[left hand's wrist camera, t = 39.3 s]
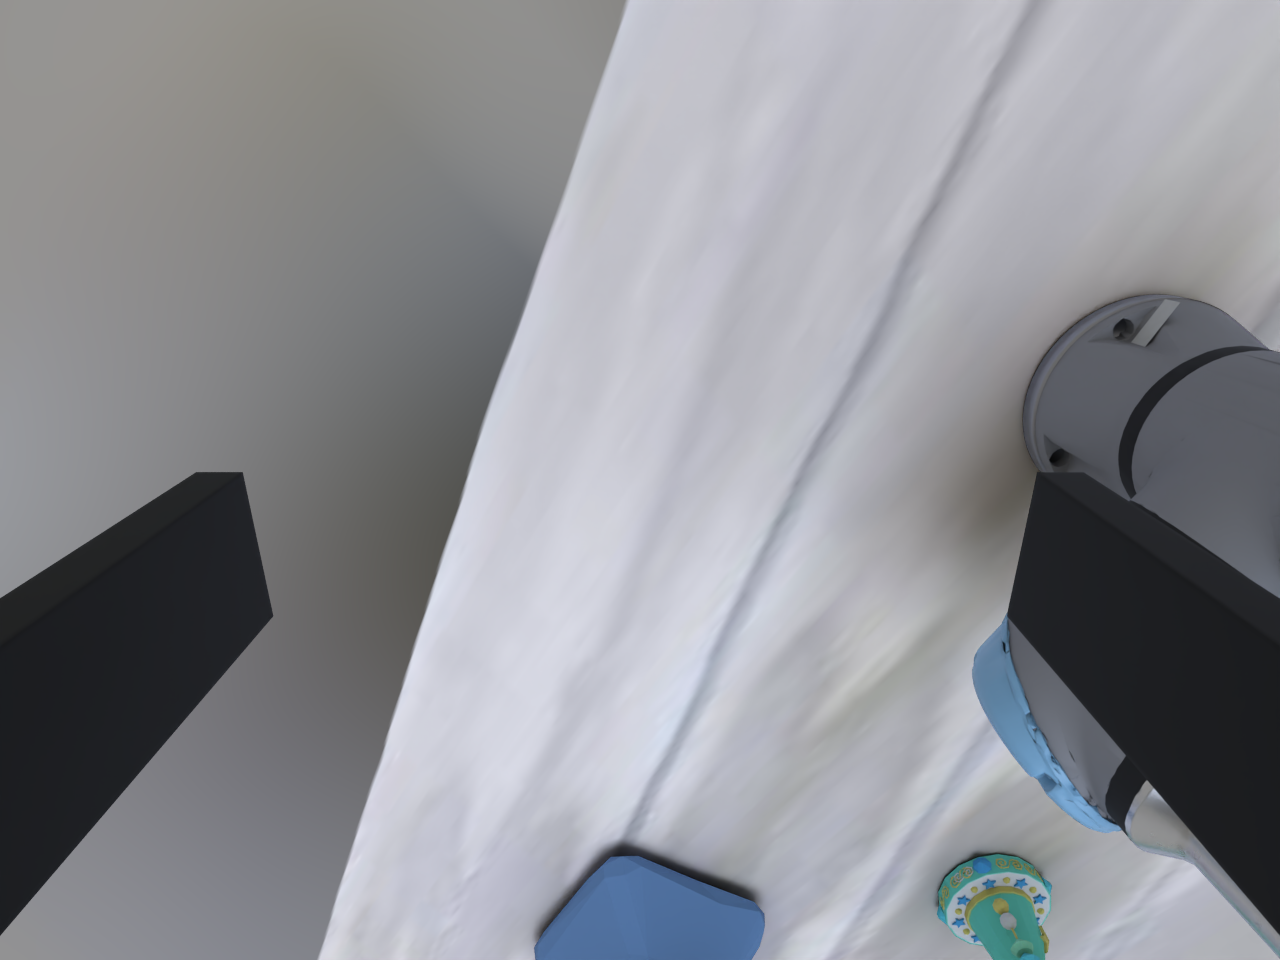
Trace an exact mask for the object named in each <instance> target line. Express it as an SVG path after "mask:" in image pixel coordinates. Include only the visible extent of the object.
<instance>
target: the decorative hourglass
mask: <svg viewBox="0 0 1280 960" xmlns="http://www.w3.org/2000/svg"><path fill="white" fill-rule="evenodd" d="M1051 887H1052V885H1051V884H1050V883H1049V882H1048V881H1047V880H1045V879H1044V878H1043V877H1040V875H1039V874H1038V872H1037V871H1036V870H1035V868H1034V867H1033V865H1031V864H1029V863H1027V862H1026V861H1024V860H1022V859H1020V858H1018V857H1014V856H1007V855H1000V854H996V855H989V856H983V857H977V858H975V859H973V860H970V861H968V862H966V863H964V864H961V865H959V866H958V867H957V868H956V869H955V870H953V871H952V872H951V873H950V874H949V875H948V876H947V877H946V878H945V879H944V881H943V883H942V885H941V888H940V890H939V892H938V896H939V907H938V911H937V915H938V918H939V919H940V920H942V921H943V922H944V923H945V924H947V925H948V927H949V928H950V929H951V931H952V932H953V934H954V935H955V936H956V937H958V938H960V939H962V940H964V941H966V942H968V943H969V944H975V945H981V946H984V947H985V948H986V950H987V951H988V953H989V954H990V956H991V957H992V959H993V960H1045V953H1047V952H1048V946H1049V939H1048V937H1047V936H1046V934H1045V932H1044V930H1043V928H1042V926H1041V925H1043V923H1044V921H1045V919H1046V918H1047V916H1048V914H1049V912H1050V911H1051V895H1050V893H1051ZM1039 928H1040V929H1039ZM1040 930H1041V932H1040ZM1041 933H1042V935H1041Z"/></svg>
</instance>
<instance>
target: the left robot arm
mask: <svg viewBox="0 0 1280 960" xmlns="http://www.w3.org/2000/svg"><path fill="white" fill-rule="evenodd" d="M1023 430H1024V438H1025V442H1026V446H1027V449H1028V451H1029V454H1030V456H1031V458H1032V460H1033V462H1034V463H1035V465H1036V466H1037V468H1038V469H1039V470H1040V471H1041V472H1037V476H1036V481H1035V486H1034V491H1033V495H1032V500H1031V505H1030V509H1029V514H1028V519H1027V523H1026V528H1025V533H1024V538H1023V542H1022V547H1021V552H1020V556H1019V561H1018V566H1017V570H1016V575H1015V580H1014V585H1013V589H1012V594H1011V599H1010V603H1009V608H1008V612H1007V614H1006V616H1005V618H1004V620H1003V622H1002V624H1001V625H1000V626H999V627H998V628H997V629H996V631H995V632H994V633H993V634H992V635H991V636H990V637H989V638H988V639H987V640H986V641H985V642H984V643H983V644H982V645H981V647H980V648H979V649H978V651H977V652H976V654H975V657H974V666H973V669H972V678H973V683H974V687H975V691H976V694H977V696H978V699H979V701H980V704H981V706H982V708H983V710H984V712H985V714H986V716H987V717H988V719H989V721H990V723H991V724H992V726H993V728H994V729H995V731H996V732H997V734H998V735H999V737H1000V738H1001V740H1002V741H1003V743H1004V744H1005V746H1006V747H1007V748H1008V750H1009V751H1010V753H1011V754H1012V755H1013V757H1014V758H1015V759H1016V760H1017V762H1018V763H1019V764H1020V765H1021V767H1022V768H1023V769H1024V770H1025V771H1026V772H1027V773H1028V774H1029V775H1030V776H1031V777H1034V778H1036V779H1037V780H1038V781H1039V783H1040V784H1041V786H1042V788H1043V789H1044V791H1045V792H1046V794H1047V795H1048V796H1049V797H1050V798H1051V799H1052V800H1053V801H1054V802H1055V803H1056V804H1057V805H1058V806H1059V807H1060V808H1061V809H1062V810H1064V811H1065V812H1066V813H1067V814H1068V815H1070V816H1071V817H1072V818H1074V819H1075V820H1076V821H1078V822H1079V823H1081V824H1082V825H1084V826H1086V827H1088V828H1090V829H1092V830H1096V831H1099V832H1103V833H1109V832H1112V831H1120V830H1123V831H1124V833H1125V834H1126V835H1127V836H1128V837H1129V839H1130V840H1131V841H1132V842H1133V843H1134V844H1135V845H1136V846H1137V847H1138V848H1139V849H1141V850H1143V851H1145V852H1149V853H1153V854H1158V855H1162V856H1167V857H1172V858H1177V859H1181V860H1185V861H1187V862H1189V863H1192V864H1194V865H1195V866H1196V867H1197V868H1198V869H1199V871H1200V872H1201V873H1202V874H1203V875H1204V876H1205V877H1206V878H1207V879H1208V880H1209V881H1210V883H1211V884H1212V885H1213V886H1214V887H1215V888H1216V889H1217V890H1218V891H1219V892H1220V894H1221V895H1222V896H1223V897H1224V898H1225V899H1226V900H1227V901H1228V902H1229V903H1230V904H1231V906H1232V907H1233V908H1234V909H1235V910H1236V911H1237V912H1238V913H1239V914H1240V915H1241V917H1242V918H1243V919H1244V920H1245V921H1246V922H1247V923H1248V924H1249V925H1250V926H1251V927H1252V929H1253V930H1254V931H1255V932H1256V933H1257V934H1258V935H1259V936H1260V937H1261V938H1262V940H1263V941H1264V942H1265V943H1266V944H1267V945H1268V946H1269V947H1270V948H1271V949H1272V951H1273V952H1274V953H1275V954H1276V955H1277V956H1278V957H1279V958H1280V352H1276V351H1272V350H1269V349H1268V348H1267V347H1266V346H1265V345H1263V344H1262V343H1261V342H1260V341H1259V340H1258V339H1257V338H1255V337H1254V336H1253V335H1252V334H1251V333H1250V332H1249V331H1247V330H1246V329H1245V328H1244V327H1243V326H1242V325H1241V324H1239V323H1238V322H1237V321H1236V320H1235V319H1233V318H1232V317H1231V316H1229V315H1228V314H1227V313H1225V312H1223V311H1222V310H1220V309H1218V308H1216V307H1214V306H1212V305H1210V304H1207V303H1204V302H1201V301H1197V300H1192V299H1187V298H1183V297H1178V296H1172V295H1143V296H1137V297H1132V298H1128V299H1124V300H1121V301H1118V302H1115V303H1112V304H1110V305H1107V306H1105V307H1103V308H1101V309H1099V310H1097V311H1095V312H1093V313H1092V314H1090V315H1088V316H1087V317H1085V318H1084V319H1082V320H1081V321H1079V322H1078V323H1077V324H1075V325H1074V326H1073V327H1072V328H1071V329H1069V330H1068V331H1067V332H1066V333H1065V334H1064V335H1063V336H1062V337H1061V338H1060V339H1059V340H1058V341H1057V342H1056V343H1055V344H1054V345H1053V347H1052V348H1051V349H1050V350H1049V352H1048V353H1047V354H1046V356H1045V357H1044V359H1043V360H1042V362H1041V363H1040V365H1039V367H1038V368H1037V370H1036V372H1035V374H1034V376H1033V378H1032V381H1031V383H1030V386H1029V389H1028V392H1027V395H1026V400H1025V404H1024V412H1023ZM272 617H273V613H272V608H271V603H270V599H269V594H268V589H267V585H266V580H265V575H264V570H263V566H262V561H261V556H260V552H259V547H258V542H257V538H256V533H255V528H254V524H253V519H252V514H251V509H250V505H249V500H248V495H247V491H246V486H245V481H244V476H243V473H242V472H196V473H194V474H193V475H191V476H190V477H188V478H187V479H185V480H183V481H182V482H180V483H179V484H177V485H176V486H174V487H173V488H171V489H170V490H168V491H167V492H165V493H163V494H162V495H160V496H159V497H157V498H156V499H154V500H152V501H151V502H149V503H148V504H146V505H145V506H143V507H142V508H140V509H138V510H137V511H135V512H134V513H132V514H131V515H129V516H128V517H126V518H124V519H123V520H121V521H120V522H118V523H117V524H115V525H114V526H112V527H111V528H109V529H107V530H106V531H104V532H103V533H101V534H100V535H98V536H96V537H95V538H93V539H92V540H90V541H89V542H87V543H86V544H84V545H82V546H81V547H79V548H78V549H76V550H75V551H73V552H72V553H70V554H68V555H67V556H65V557H64V558H62V559H61V560H59V561H58V562H56V563H54V564H53V565H51V566H50V567H48V568H47V569H45V570H44V571H42V572H40V573H39V574H37V575H36V576H34V577H33V578H31V579H30V580H28V581H26V582H25V583H23V584H22V585H20V586H19V587H17V588H16V589H14V590H12V591H11V592H9V593H8V594H6V595H5V596H3V597H2V598H0V935H1V934H2V933H3V932H4V930H5V929H6V928H7V927H8V926H9V925H10V924H11V922H12V921H13V920H14V919H15V918H16V917H17V915H18V914H19V913H20V912H21V911H22V909H23V908H24V907H25V906H26V905H27V904H28V902H29V901H30V900H31V899H32V898H33V897H34V895H35V894H36V893H37V892H38V891H39V890H40V888H41V887H42V886H43V885H44V884H45V883H46V881H47V880H48V879H49V878H50V877H51V876H52V874H53V873H54V872H55V871H56V870H57V869H58V867H59V866H60V865H61V864H62V863H63V862H64V860H65V859H66V858H67V857H68V856H69V854H70V853H71V852H72V851H73V850H74V849H75V847H76V846H77V845H78V844H79V843H80V842H81V840H82V839H83V838H84V837H85V836H86V835H87V833H88V832H89V831H90V830H91V829H92V828H93V826H94V825H95V824H96V823H97V822H98V820H99V819H100V818H101V817H102V816H103V815H104V814H105V812H106V811H107V810H108V809H109V808H110V807H111V805H112V804H113V803H114V802H115V801H116V799H117V798H118V797H119V796H120V795H121V794H122V792H123V791H124V790H125V789H126V788H127V787H128V785H129V784H130V783H131V782H132V781H133V780H134V778H135V777H136V776H137V775H138V774H139V773H140V771H141V770H142V769H143V768H144V767H145V765H146V764H147V763H148V762H149V761H150V760H151V759H152V757H153V756H154V755H155V754H156V753H157V751H158V750H159V749H160V748H161V747H162V746H163V744H164V743H165V742H166V741H167V740H168V739H169V737H170V736H171V735H172V734H173V733H174V732H175V730H176V729H177V728H178V727H179V726H180V725H181V723H182V722H183V721H184V720H185V719H186V718H187V716H188V715H189V714H190V713H191V712H192V711H193V709H194V708H195V707H196V706H197V705H198V704H199V702H200V701H201V700H202V699H203V698H204V696H205V695H206V694H207V693H208V692H209V691H210V690H211V688H212V687H213V686H214V685H215V684H216V682H217V681H218V680H219V679H220V678H221V677H222V675H223V674H224V673H225V672H226V671H227V670H228V668H229V667H230V666H231V665H232V664H233V663H234V661H235V660H236V659H237V658H238V657H239V656H240V654H241V653H242V652H243V651H244V650H245V649H246V647H247V646H248V645H249V644H250V643H251V642H252V640H253V639H254V638H255V637H256V636H257V635H258V633H259V632H260V631H261V630H262V629H263V627H264V626H265V625H266V624H267V623H268V622H269V620H270V619H271V618H272Z"/></svg>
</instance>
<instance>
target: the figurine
mask: <svg viewBox="0 0 1280 960" xmlns="http://www.w3.org/2000/svg"><path fill="white" fill-rule="evenodd" d="M764 927H765V921H764V913H763V912H762V911H761V909H760V908H759V907H758V906H757V905H756V903H755V902H753V901H750V900H748V899H745V898H742V897H740V896H737V895H734V894H732V893H729V892H726V891H724V890H721V889H718V888H716V887H713V886H710V885H708V884H705V883H702V882H700V881H697V880H695V879H692V878H690V877H687V876H685V875H683V874H680V873H678V872H675V871H673V870H671V869H668V868H666V867H663V866H661V865H659V864H656V863H654V862H651V861H649V860H647V859H644V858H642V857H640V856H619V857H610V858H609V859H608V860H607V861H606V862H605V863H604V864H603V865H602V866H601V867H600V868H599V869H598V870H597V871H596V872H595V873H593V874H592V875H591V876H590V877H589V878H588V879H587V881H586V882H585V883H584V884H583V885H582V887H581V888H580V889H579V890H578V891H577V893H576V894H575V895H574V896H573V897H572V899H571V900H570V901H569V902H568V903H567V905H566V906H565V907H564V908H563V909H562V911H561V912H560V913H559V914H558V915H557V917H556V918H555V919H554V920H553V921H552V923H551V924H550V925H549V926H548V927H547V929H546V930H545V931H544V933H543V934H542V936H541V937H540V939H539V941H538V942H537V944H536V946H535V947H534V950H535V960H751V959H752V958H753V956H754V955H755V953H756V951H757V950H758V948H759V946H760V943H761V939H762V936H763V932H764Z"/></svg>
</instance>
